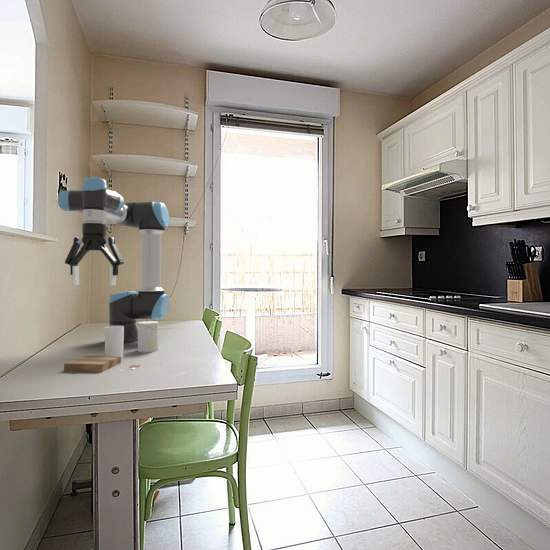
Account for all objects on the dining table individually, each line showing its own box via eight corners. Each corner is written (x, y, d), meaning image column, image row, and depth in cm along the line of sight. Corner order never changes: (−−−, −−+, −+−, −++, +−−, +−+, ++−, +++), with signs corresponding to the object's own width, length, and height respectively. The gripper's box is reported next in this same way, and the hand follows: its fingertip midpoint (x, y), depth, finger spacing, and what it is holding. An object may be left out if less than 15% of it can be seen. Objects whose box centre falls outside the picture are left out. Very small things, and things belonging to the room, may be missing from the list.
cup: (147, 354, 164) (147, 324, 164) (133, 352, 169) (133, 322, 168) (162, 351, 171) (162, 322, 171) (149, 349, 175) (149, 320, 175)
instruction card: (127, 364, 145) (127, 363, 145) (147, 364, 146) (147, 363, 146) (118, 371, 135) (118, 370, 135) (140, 371, 136) (140, 370, 136)
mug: (123, 359, 154) (123, 327, 154) (104, 361, 151) (104, 328, 151) (123, 354, 163) (123, 324, 163) (105, 355, 161) (105, 324, 161)
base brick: (86, 364, 148) (86, 355, 148) (120, 365, 147) (120, 356, 147) (64, 372, 135) (64, 363, 135) (102, 374, 134) (102, 364, 134)
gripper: (53, 222, 140) (53, 285, 140) (123, 221, 137) (123, 285, 137) (67, 224, 148) (67, 284, 148) (133, 224, 145) (133, 285, 145)
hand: (94, 285), depth 143 cm, fingers open, 13 cm apart
